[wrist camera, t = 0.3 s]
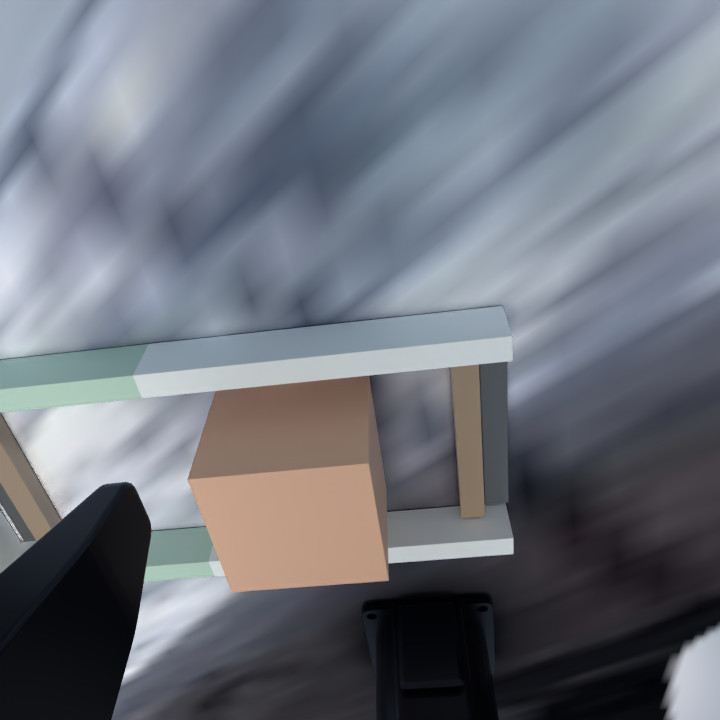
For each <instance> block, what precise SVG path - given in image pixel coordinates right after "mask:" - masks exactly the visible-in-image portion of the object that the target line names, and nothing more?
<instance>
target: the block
mask: <svg viewBox="0 0 720 720" xmlns="http://www.w3.org/2000/svg"><path fill="white" fill-rule="evenodd" d="M188 482H189V484H190V487H191V490H192V492H193V495H194V497H195V500H196V502H197V505H198V507H199V510H200V512H201V515H202V517H203V520H204V523H205V525H206V528H207V530H208V533H209V535H210V538H211V540H212V543H213V545H214V548H215V551H216V553H217V556H218V558H219V561H220V563H221V566H222V568H223V571H224V573H225V576H226V578H227V581H228V584H229V586H230V589H231V591H232V592H242V591H256V590H269V589H283V588H297V587H310V586H324V585H337V584H351V583H365V582H378V581H389V566H388V528H387V491H386V480H385V474H384V467H383V461H382V455H381V448H380V442H379V436H378V429H377V423H376V416H375V410H374V404H373V397H372V391H371V385H370V378H369V376H359V377H349V378H339V379H329V380H319V381H309V382H299V383H289V384H279V385H269V386H259V387H249V388H239V389H229V390H219V391H216V392H215V395H214V398H213V401H212V405H211V408H210V411H209V414H208V417H207V420H206V423H205V426H204V430H203V433H202V436H201V439H200V442H199V445H198V448H197V452H196V455H195V458H194V461H193V464H192V467H191V470H190V474H189V477H188Z"/></svg>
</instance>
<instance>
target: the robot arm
mask: <svg viewBox="0 0 720 720" xmlns="http://www.w3.org/2000/svg"><path fill="white" fill-rule="evenodd" d="M150 541H151V523H150V520H149V517H148V515H147V513H146V511H145V508H144V506H143V504H142V502H141V499H140V497H139V495H138V493H137V491H136V489H135V487H134V486H133V485H132V484H131V483H128V482H122V483H111V484H105V485H102V486H101V487H99V488H98V489H97V490H96V491H94V492H93V493H92V494H91V495H90V496H89V497H87V498H86V499H85V500H84V501H83V502H82V503H81V504H79V505H78V506H77V507H76V508H75V509H74V510H73V511H71V512H70V513H69V514H68V515H67V516H66V517H64V518H63V519H62V520H61V521H60V522H59V523H58V524H56V525H55V526H54V527H53V528H52V529H51V530H50V531H48V532H47V533H46V534H45V535H44V536H43V537H41V538H40V539H39V540H38V541H37V542H36V543H35V544H33V545H32V546H31V547H30V548H29V549H28V550H27V551H25V552H24V553H23V554H22V555H21V556H20V557H18V558H17V559H16V560H15V561H14V562H13V563H12V564H10V565H9V566H8V567H7V568H6V569H5V570H4V571H2V572H1V573H0V720H111V718H112V715H113V711H114V707H115V704H116V700H117V697H118V693H119V690H120V686H121V682H122V679H123V675H124V672H125V668H126V664H127V661H128V657H129V654H130V650H131V646H132V642H133V638H134V634H135V630H136V624H137V619H138V614H139V608H140V601H141V595H142V589H143V583H144V577H145V571H146V565H147V559H148V553H149V547H150ZM362 620H363V625H364V629H365V634H366V638H367V643H368V648H369V652H370V657H371V661H372V666H373V670H374V675H375V678H376V711H377V720H499V718H498V712H497V705H496V699H495V693H494V686H493V680H492V674H493V673H494V672H495V646H494V615H493V604H492V600H491V598H489V597H487V596H471V597H457V598H443V599H428V600H414V601H400V602H385V603H371V604H366V605H364V606H363V608H362Z"/></svg>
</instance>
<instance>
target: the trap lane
mask: <svg viewBox="0 0 720 720" xmlns="http://www.w3.org/2000/svg"><path fill="white" fill-rule="evenodd" d="M508 361H513V336H512V333H511V330H510V327H509V324H508V321H507V318H506V315H505V312H504V309H503V306H496V307H486V308H477V309H468V310H459V311H449V312H440V313H431V314H422V315H412V316H403V317H394V318H384V319H375V320H366V321H357V322H347V323H338V324H329V325H320V326H310V327H301V328H292V329H283V330H273V331H264V332H255V333H246V334H236V335H227V336H218V337H209V338H199V339H190V340H181V341H172V342H162V343H153V344H144V345H135V346H125V347H116V348H107V349H98V350H88V351H79V352H70V353H61V354H51V355H42V356H33V357H24V358H14V359H5V360H0V413H1V412H11V411H21V410H31V409H41V408H51V407H60V406H70V405H80V404H90V403H100V402H110V401H120V400H130V399H140V398H150V397H160V396H170V395H180V394H190V393H200V392H210V391H219V390H229V389H239V388H249V387H259V386H269V385H279V384H289V383H299V382H309V381H319V380H329V379H339V378H349V377H359V376H369V375H378V374H388V373H398V372H408V371H418V370H428V369H438V368H448V367H450V377H451V391H452V405H453V419H454V434H455V448H456V462H457V476H458V490H459V505H460V506H453V507H441V508H429V509H417V510H405V511H392V512H387V528H388V563H400V562H414V561H427V560H440V559H453V558H467V557H480V556H493V555H507V554H513V534H512V530H511V525H510V521H509V516H508V512H507V507H506V502H508V416H507V362H508ZM479 372H480V380H479ZM480 398H481V406H480ZM481 423H482V431H481ZM482 449H483V456H482ZM483 474H484V481H483ZM484 499H485V504H484ZM0 503H1V505H2V506H3V508H4V509H5V511H6V513H7V514H8V516H9V517H10V519H11V520H12V522H13V524H14V525H15V527H16V528H17V530H18V531H19V533H20V535H21V536H22V538H23V539H24V541H25V542H20V540H19V539H18V537H17V535H16V534H15V532H14V531H13V529H12V528H11V526H10V525H9V523H8V521H7V520H6V518H5V517H4V515H3V514H2V512H1V510H0V573H1V572H2V571H4V570H5V569H6V568H7V567H8V566H9V565H10V564H12V563H13V562H14V561H15V560H16V559H17V558H18V557H20V556H21V555H22V554H23V553H24V552H25V551H27V550H28V549H29V548H30V547H31V546H32V545H33V544H35V543H36V542H37V541H38V540H39V539H40V538H41V537H43V536H44V535H45V534H46V533H47V532H48V531H50V530H51V529H52V528H53V527H54V526H55V525H56V524H58V523H59V522H60V521H61V519H60V517H59V515H58V513H57V512H56V510H55V508H54V506H53V505H52V503H51V501H50V499H49V498H48V496H47V494H46V492H45V491H44V489H43V487H42V485H41V484H40V482H39V480H38V478H37V477H36V475H35V473H34V471H33V470H32V468H31V466H30V464H29V463H28V461H27V459H26V457H25V456H24V454H23V452H22V450H21V449H20V447H19V445H18V443H17V442H16V440H15V438H14V436H13V435H12V433H11V431H10V429H9V428H8V426H7V424H6V422H5V421H4V419H3V417H2V415H1V414H0ZM214 576H225V573H224V571H223V568H222V566H221V563H220V561H219V558H218V556H217V553H216V551H215V548H214V545H213V543H212V540H211V538H210V535H209V533H208V530H207V528H206V527H198V528H185V529H173V530H161V531H151V541H150V547H149V553H148V559H147V565H146V571H145V577H144V582H148V581H161V580H174V579H188V578H201V577H214Z"/></svg>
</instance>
